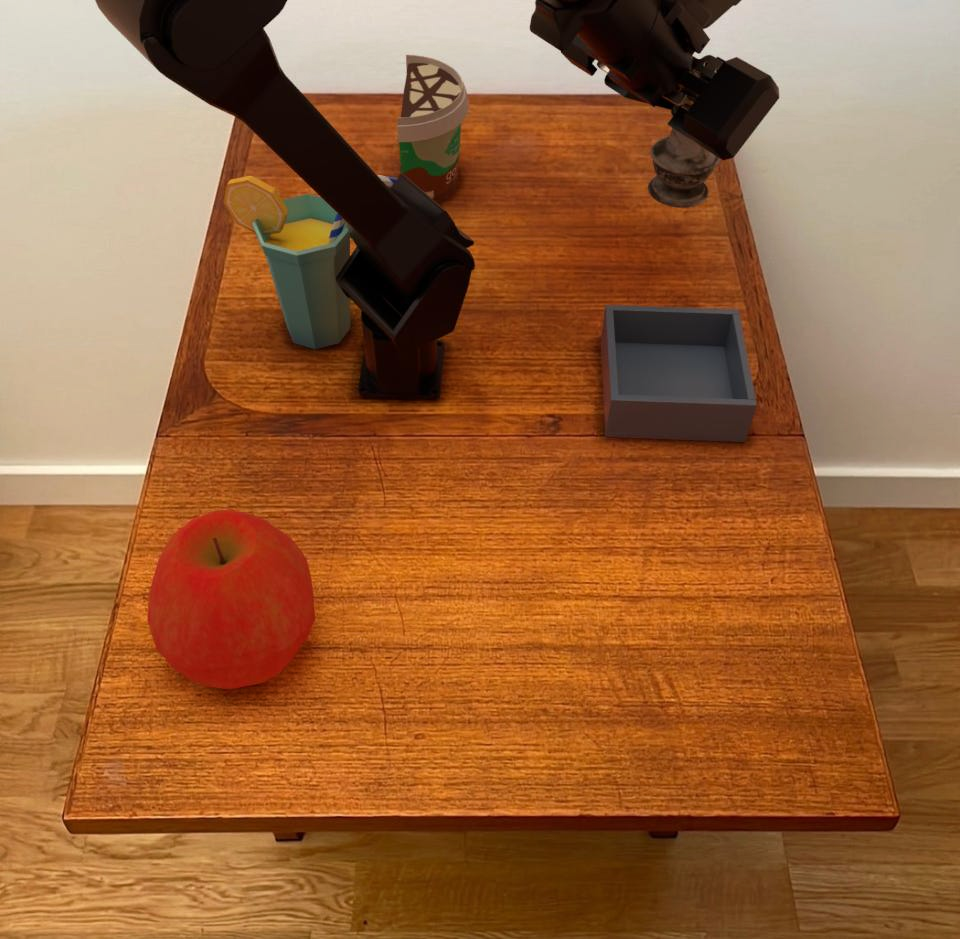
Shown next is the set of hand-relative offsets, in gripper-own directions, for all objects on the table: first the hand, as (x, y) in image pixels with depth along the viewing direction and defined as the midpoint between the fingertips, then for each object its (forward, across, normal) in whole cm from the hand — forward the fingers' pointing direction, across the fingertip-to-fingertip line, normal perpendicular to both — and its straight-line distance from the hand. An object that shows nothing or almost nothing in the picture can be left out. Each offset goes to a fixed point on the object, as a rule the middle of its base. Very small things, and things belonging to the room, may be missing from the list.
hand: (703, 116), depth 83 cm
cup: (-14, +8, +32) cm, 36 cm away
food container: (0, +21, +18) cm, 27 cm away
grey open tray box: (-1, -14, +19) cm, 24 cm away
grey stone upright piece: (+4, 0, +6) cm, 7 cm away
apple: (-28, -14, +46) cm, 56 cm away
